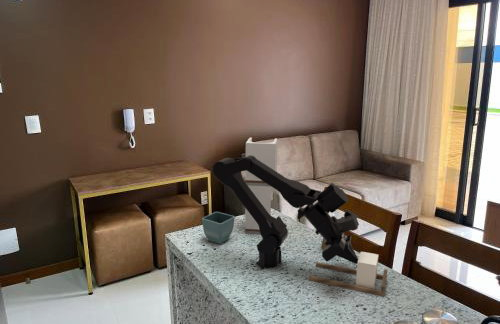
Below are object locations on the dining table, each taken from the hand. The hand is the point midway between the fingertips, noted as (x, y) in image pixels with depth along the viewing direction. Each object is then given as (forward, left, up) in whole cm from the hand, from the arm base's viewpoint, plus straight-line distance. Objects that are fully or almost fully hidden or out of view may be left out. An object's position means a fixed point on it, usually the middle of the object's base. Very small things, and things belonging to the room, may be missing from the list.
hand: (357, 262), depth 113 cm
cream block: (+2, -2, -6) cm, 7 cm away
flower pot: (-20, +47, -7) cm, 52 cm away
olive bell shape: (+9, +20, -7) cm, 23 cm away
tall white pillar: (-1, +48, -7) cm, 49 cm away
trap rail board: (-1, +2, -7) cm, 7 cm away
